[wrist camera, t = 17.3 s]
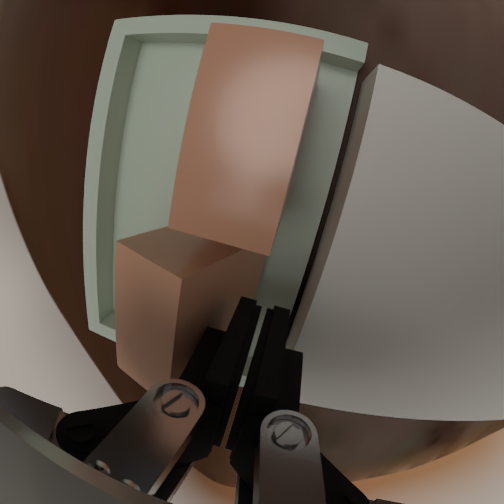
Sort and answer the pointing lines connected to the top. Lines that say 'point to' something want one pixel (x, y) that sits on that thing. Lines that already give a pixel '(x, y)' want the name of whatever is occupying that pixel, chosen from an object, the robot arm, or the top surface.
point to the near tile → (244, 134)
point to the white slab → (410, 262)
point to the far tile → (175, 298)
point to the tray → (169, 144)
